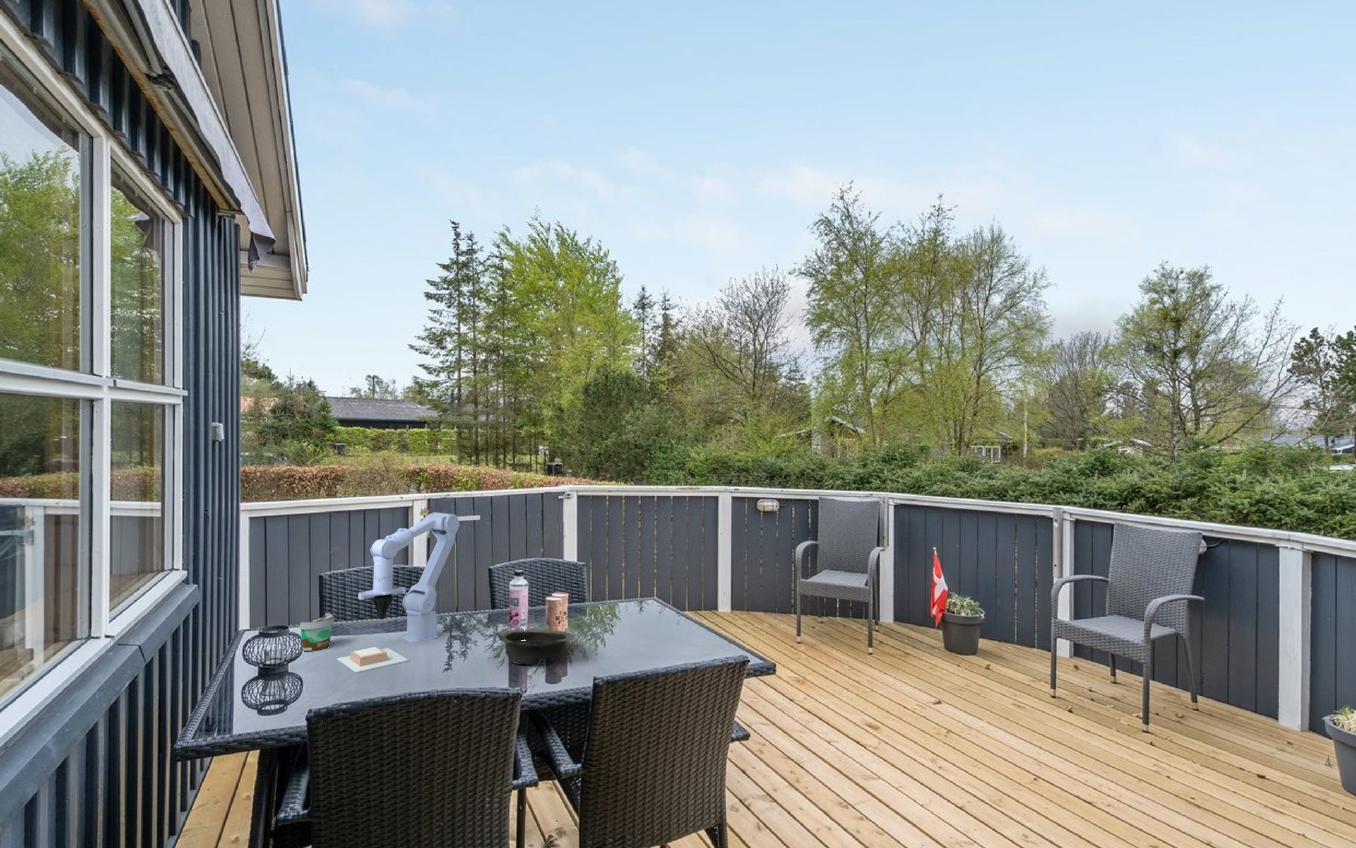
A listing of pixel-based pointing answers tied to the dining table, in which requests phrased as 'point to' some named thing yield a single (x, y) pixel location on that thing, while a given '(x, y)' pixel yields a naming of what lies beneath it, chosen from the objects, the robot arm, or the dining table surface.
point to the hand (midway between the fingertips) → (381, 618)
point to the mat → (391, 660)
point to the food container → (316, 633)
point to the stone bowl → (534, 645)
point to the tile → (368, 656)
